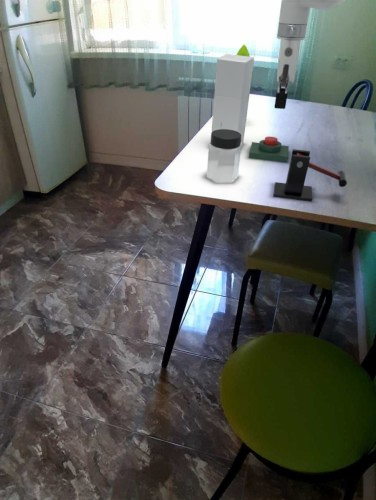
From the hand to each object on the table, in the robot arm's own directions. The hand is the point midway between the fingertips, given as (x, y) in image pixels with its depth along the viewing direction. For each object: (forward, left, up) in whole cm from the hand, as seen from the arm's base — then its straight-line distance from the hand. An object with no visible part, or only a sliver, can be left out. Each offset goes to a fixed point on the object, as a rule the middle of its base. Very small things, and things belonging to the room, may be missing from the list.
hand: (279, 107), depth 122 cm
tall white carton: (+15, -4, -14) cm, 21 cm away
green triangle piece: (+15, -29, -14) cm, 36 cm away
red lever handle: (-12, +27, -8) cm, 31 cm away
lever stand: (-7, +27, -14) cm, 31 cm away
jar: (+13, +22, -14) cm, 29 cm away
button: (+1, 0, -11) cm, 11 cm away
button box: (+1, 0, -14) cm, 14 cm away
